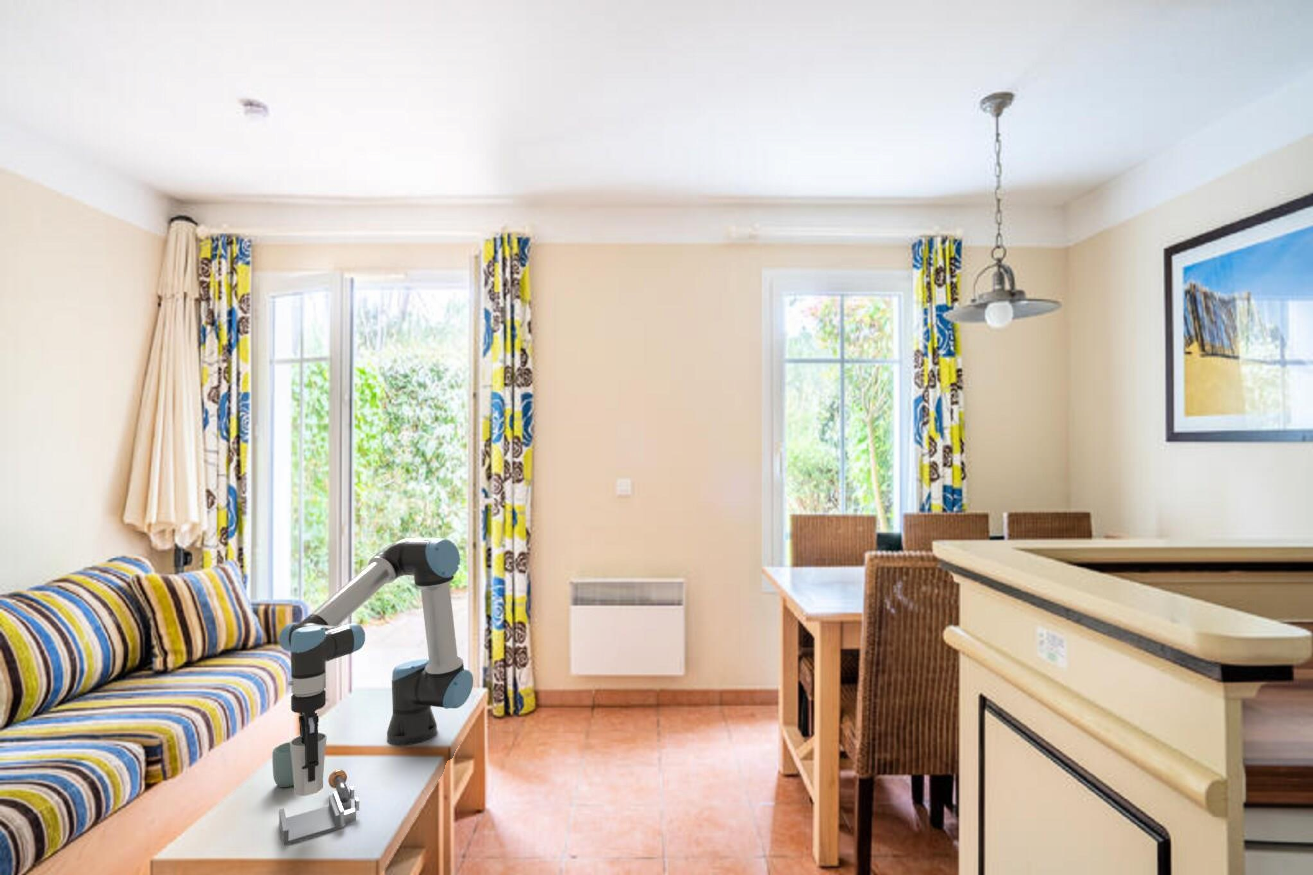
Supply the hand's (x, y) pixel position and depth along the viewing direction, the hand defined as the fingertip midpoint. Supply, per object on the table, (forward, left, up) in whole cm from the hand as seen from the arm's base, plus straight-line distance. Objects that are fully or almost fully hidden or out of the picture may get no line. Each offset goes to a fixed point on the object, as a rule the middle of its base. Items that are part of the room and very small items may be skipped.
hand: (308, 786), depth 161 cm
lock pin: (-8, -9, -8) cm, 14 cm away
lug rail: (-8, 0, -9) cm, 13 cm away
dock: (0, 0, -9) cm, 9 cm away
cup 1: (+2, -28, -10) cm, 30 cm away
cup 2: (0, 0, -1) cm, 1 cm away
